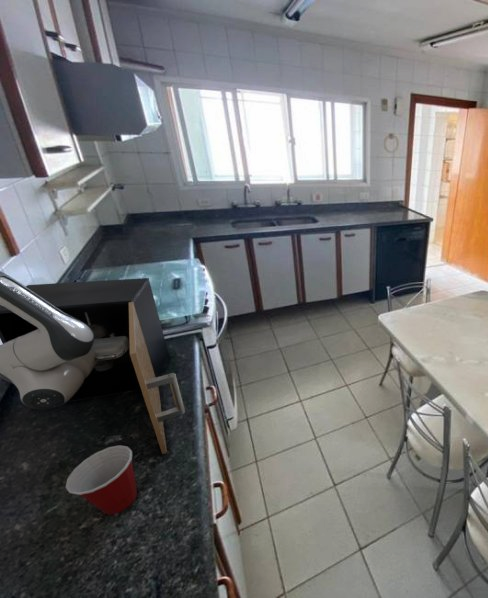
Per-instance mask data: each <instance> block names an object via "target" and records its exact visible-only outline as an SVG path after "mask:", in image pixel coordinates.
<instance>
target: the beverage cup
mask: <svg viewBox="0 0 488 598" xmlns="http://www.w3.org/2000/svg"><path fill="white" fill-rule="evenodd" d="M85 316H86V319H87V322H88V324H86V325H88V326H89V327H90V328H91V330H92V331H93V333H94V339H101V338H108V337H107V335H108V333H109V332H108V331H107V329H106V328H105V327H104V326H103V325H101V324H98V323H90V320H89V317H88V314H87V312H85ZM113 366H114V361H113V359H108V360H100V361H97V364H96V366H95V369H96V371H105V370H108V369H110V368H112V367H113Z"/></svg>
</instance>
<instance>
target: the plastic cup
mask: <svg viewBox="0 0 488 598" xmlns="http://www.w3.org/2000/svg"><path fill="white" fill-rule="evenodd" d="M65 483H66V484H65V489H66V491H68V493H69V494H72V495H78V496H80V497H81V498H84V499H85V500H87V501H88V502H89V503H90V504H92V505H93V506H94V507H96V508H97V509H98V510H100V511H101V512H102V513H104V514H105V515H114V514H116V515H117V514H119V513H121V512H123V511H125V510H126V509H127V508H129V507H130V506H131V505H132V504H133V503H134V501H135V500H136V498H137V496H138V490H137V485H136V484H137V481H136V476H135V472H134V466H133V450H132V449H131V448H130V447H129V446H126V445H114V446H109V447H106V448H104V449H102V450H99V451H97V452H95V453H94V454H92V455H90V456H89V457H87V458H86V459H84V460H82V461H81V463H79V464H78V465H77V466H76V467H75V468H74V469H73V471H71V473H70V474H69V476H68V477H67V479H66V482H65Z"/></svg>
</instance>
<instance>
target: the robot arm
mask: <svg viewBox="0 0 488 598" xmlns="http://www.w3.org/2000/svg"><path fill="white" fill-rule="evenodd" d="M26 286H27V285H26ZM26 286H25V284H22V282H19V281H18V280H16V279H15V278H14V277H11V276H10V275H9V274H6V273H5V272H4V271H1V270H0V305H2V306H4V307H6V308H7V309H9V310H11V311H12V312H14V313H15V314H17V315H18V316H20V317H22V318H23V319H25V320H26V321H28V322H30V323H31V324H33V325H34V326H36V327H37V328H38V329H37V330H35V331H32V332H30V333H28V334H25V335H23V336H20V337H17V338H15V339H13V340H11V341H8V342H6V343H4V344H3V343H2V344H0V378H1V379H3V380H4V381H6V382H8V383H10V384H13V385H14V386H15V387H16V389H17V390H18V392H19V398H20V402H21V403H22V404H23V405H24V406H26V407H27V408H29V409H33V410H42V411H43V410H45V411H46V410H52V409H55V408H58V407H61V406H63V405H65V404H64V403H66V402H67V401H68V400H69V399H70V398H71V397H72V396H73V395H74V394H75V393H76V392H77V391H78V389H79V388H80V387H81V385H82V384H83V382H84V379H85V378H87V377H88V375H89V374H90V373H91V371H92V370H93V368H94V367H95V366H96V364H97V361H100V360H108V359H115V358H118V357H120V356H122V355H123V354H124V353H125V352H126V351H127V350H128V349H129V347H130V341H129V339H128V337H126V336H119V337H116V335H115V333H108V335H107V337H108V338H101V339H94V333H93V331H92V330H91V328H90V327H89V326H88V325H86V324H85V323H83V322H82V321H80V320H78V319H76V318H74V317H72V316H69V315H68V314H66V313H64V312H63V311H61V310H60V309H58V308H57V307H55V306H54V305H52V304H51V303H49V302H48V301H46V300H45V299H43V298H42V297H40V296H39V295H37V294H36V293H34V292H33V291H31V290H30V289H28V288H27V287H26Z"/></svg>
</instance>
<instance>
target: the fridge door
mask: <svg viewBox="0 0 488 598" xmlns="http://www.w3.org/2000/svg"><path fill="white" fill-rule="evenodd" d="M129 341H130V357H131V360H132V363H133V366H134V373H135V376H136V378H137V381H138V384H139V387H140V390H141V394H142V396H143V400H144V403H145V406H146V409H147V412H148V415H149V418H150V421H151V424H152V427H153V430H154V433H155V436H156V439H157V443H158V445H159V449H160V451H161V454H162V455H165V454H166V452H167V453H168V450H167V442H166V434H165V427H164V421H167V420H170V419H172V418H176V417H179V416H181V415H184V414H185V413H186V409H185V405H184V401H183V397H182V393H181V390H180V387H179V382H178V379H177V375H176V373H174V372H172V373H167V374H164V375H161V376H160V377H157V378H156V377H155V374H154V371H153V367H152V364H151V361H150V357H149V354H148V350H147V347H146V344H145V340H144V337H143V334H142V330H141V327H140V323H139V320H138V317H137V313H136V310H135V307H134V303H133V302H129ZM168 384H169V387H170V391H171V394H172V397H173V401H174V404H175V407H173V408H170V409H167V410H164V411H162V404H161V396H160V388H159V387H161V386H165V385H168Z"/></svg>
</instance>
